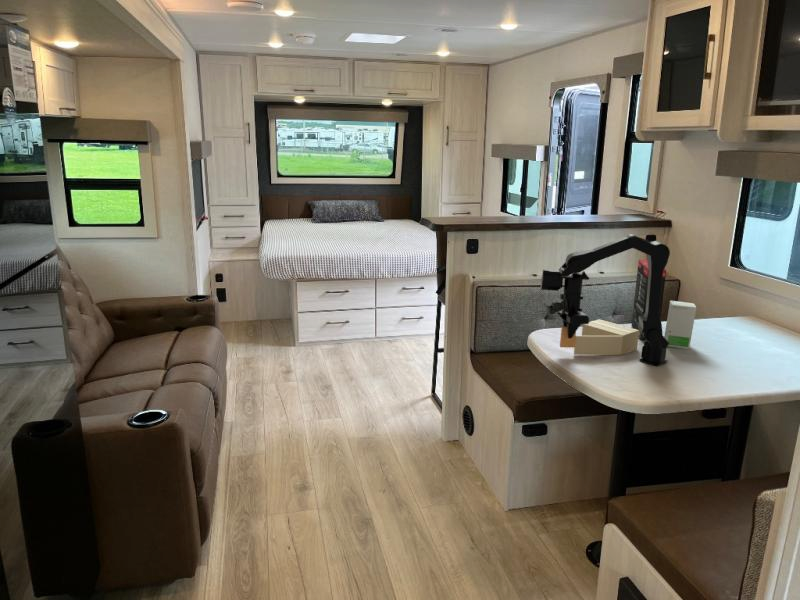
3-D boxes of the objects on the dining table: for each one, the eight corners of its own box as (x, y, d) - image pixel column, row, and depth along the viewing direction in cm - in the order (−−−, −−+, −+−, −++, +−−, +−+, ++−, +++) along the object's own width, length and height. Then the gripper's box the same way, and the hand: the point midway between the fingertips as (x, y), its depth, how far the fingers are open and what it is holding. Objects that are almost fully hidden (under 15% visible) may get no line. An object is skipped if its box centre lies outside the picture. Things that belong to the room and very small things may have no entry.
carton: (636, 349, 207) (639, 329, 205) (620, 354, 201) (623, 335, 199) (597, 337, 219) (599, 318, 218) (581, 342, 213) (582, 323, 212)
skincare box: (664, 346, 211) (670, 304, 207) (663, 341, 217) (668, 300, 213) (690, 349, 208) (697, 307, 204) (688, 343, 214) (694, 302, 210)
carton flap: (619, 353, 201) (622, 326, 199) (620, 354, 201) (624, 327, 198) (559, 353, 200) (561, 326, 198) (560, 354, 199) (562, 327, 197)
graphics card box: (658, 342, 215) (669, 268, 208) (639, 340, 216) (648, 267, 209) (647, 328, 232) (656, 259, 225) (629, 326, 233) (637, 258, 226)
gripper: (540, 284, 203) (536, 328, 207) (557, 298, 185) (552, 346, 189) (572, 284, 203) (568, 328, 207) (591, 299, 185) (587, 345, 190)
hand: (568, 336), depth 198 cm, fingers open, 3 cm apart
